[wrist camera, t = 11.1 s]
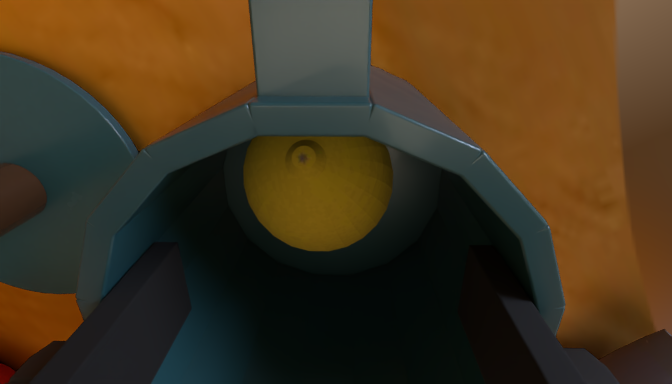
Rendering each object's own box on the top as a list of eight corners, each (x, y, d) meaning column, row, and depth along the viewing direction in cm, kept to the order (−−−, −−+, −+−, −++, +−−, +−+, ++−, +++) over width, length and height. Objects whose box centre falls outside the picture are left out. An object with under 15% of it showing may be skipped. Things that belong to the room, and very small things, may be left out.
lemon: (260, 161, 18) (181, 106, 11) (362, 120, 18) (359, 33, 10) (297, 264, 18) (243, 289, 10) (404, 223, 18) (437, 214, 10)
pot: (235, 311, 23) (156, 514, 13) (186, -8, 16) (-65, -62, 6) (432, 315, 23) (494, 524, 13) (477, -10, 15) (693, -69, 6)
